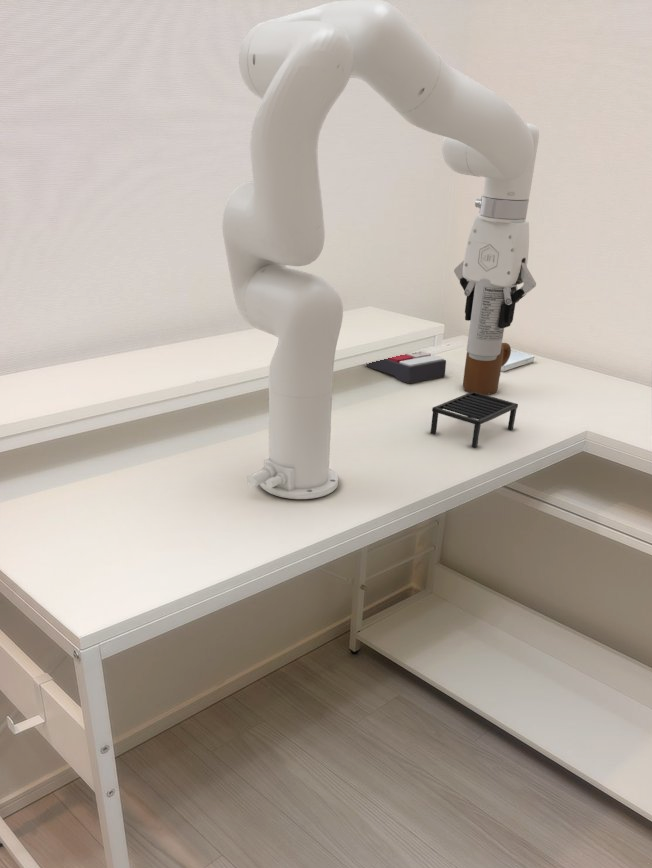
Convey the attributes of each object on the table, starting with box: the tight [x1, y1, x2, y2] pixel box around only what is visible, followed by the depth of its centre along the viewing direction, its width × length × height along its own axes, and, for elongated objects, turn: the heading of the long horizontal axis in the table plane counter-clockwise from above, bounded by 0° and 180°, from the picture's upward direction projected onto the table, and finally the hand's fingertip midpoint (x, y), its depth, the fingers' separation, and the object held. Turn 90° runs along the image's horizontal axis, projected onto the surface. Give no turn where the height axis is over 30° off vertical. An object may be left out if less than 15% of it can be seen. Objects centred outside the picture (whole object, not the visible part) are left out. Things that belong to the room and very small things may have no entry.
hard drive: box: [501, 349, 535, 372], centre depth 191 cm, size 2×8×12 cm
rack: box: [430, 391, 519, 449], centre depth 150 cm, size 14×10×5 cm
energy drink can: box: [466, 278, 505, 361], centre depth 140 cm, size 6×6×15 cm
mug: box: [462, 342, 512, 395], centre depth 172 cm, size 12×8×9 cm, turn 130°
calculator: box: [366, 350, 447, 384], centre depth 181 cm, size 11×4×15 cm
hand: (487, 322), depth 141 cm, fingers closed on energy drink can, 6 cm apart
